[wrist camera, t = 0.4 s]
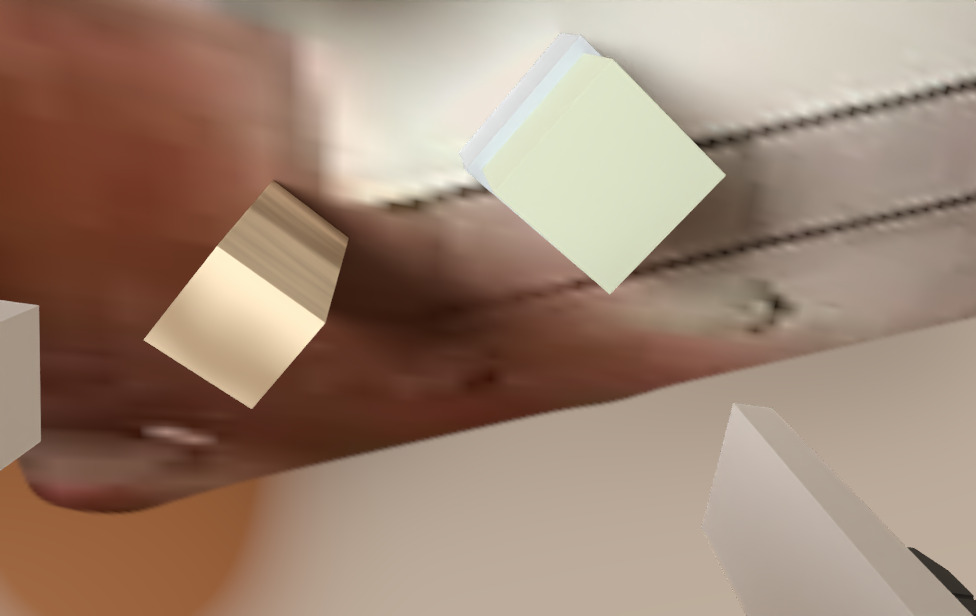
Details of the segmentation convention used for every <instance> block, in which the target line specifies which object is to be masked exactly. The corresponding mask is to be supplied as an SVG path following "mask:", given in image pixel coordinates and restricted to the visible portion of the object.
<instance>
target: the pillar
mask: <svg viewBox="0 0 976 616" xmlns="http://www.w3.org/2000/svg"><path fill="white" fill-rule="evenodd" d="M348 240H349V238H348V237H347V236H345V235H344V234H343V233H342V232H340V231H339V230H338V229H336V228H335V227H334V226H332V225H331V224H330V223H329V222H327V221H326V220H325V219H323V218H322V217H321V216H319V215H318V214H317V213H315V212H314V211H313V210H312V209H310V208H309V207H308V206H306V205H305V204H304V203H302V202H301V201H300V200H299V199H297V198H296V197H295V196H293V195H292V194H291V193H289V192H288V191H287V190H285V189H284V188H283V187H282V186H280V185H279V184H278V183H276V182H275V181H274V180H273V181H272V182H271V183H270V184H269V185H268V186H267V188H266V189H265V190H264V191H263V192H262V194H261V195H260V196H259V197H258V198H257V199H256V201H255V202H254V203H253V204H252V205H251V207H250V208H249V209H248V210H247V211H246V212H245V214H244V215H243V216H242V217H241V218H240V220H239V221H238V222H237V223H236V224H235V225H234V227H233V228H232V229H231V230H230V231H229V233H228V234H227V235H226V236H225V237H224V238H223V240H222V241H221V242H220V243H219V244H218V246H217V247H216V248H215V249H214V251H213V252H212V253H211V254H210V256H209V257H208V258H207V260H206V261H205V262H204V263H203V265H202V266H201V267H200V268H199V270H198V271H197V272H196V274H195V275H194V276H193V277H192V279H191V280H190V281H189V283H188V284H187V285H186V286H185V288H184V289H183V290H182V291H181V293H180V294H179V295H178V297H177V298H176V299H175V300H174V302H173V303H172V304H171V306H170V307H169V308H168V309H167V311H166V312H165V313H164V314H163V316H162V317H161V318H160V320H159V321H158V322H157V323H156V325H155V326H154V327H153V329H152V330H151V331H150V332H149V334H148V335H147V336H146V337H145V339H144V341H146V342H148V343H149V344H151V345H152V346H154V347H155V348H157V349H159V350H160V351H162V352H163V353H165V354H166V355H168V356H170V357H171V358H173V359H174V360H176V361H177V362H179V363H180V364H182V365H184V366H185V367H187V368H188V369H190V370H191V371H193V372H195V373H196V374H198V375H199V376H201V377H202V378H204V379H205V380H207V381H209V382H210V383H212V384H213V385H215V386H216V387H218V388H220V389H221V390H223V391H224V392H226V393H227V394H229V395H230V396H232V397H234V398H235V399H237V400H238V401H240V402H241V403H243V404H245V405H246V406H248V407H249V408H251V409H252V408H253V407H254V406H255V405H256V403H257V402H258V401H259V400H260V399H261V398H262V396H263V395H264V394H265V393H266V392H267V391H268V389H269V388H270V387H271V386H272V385H273V384H274V382H275V381H276V380H277V379H278V378H279V376H280V375H281V374H282V373H283V372H284V371H285V369H286V368H287V367H288V366H289V365H290V364H291V362H292V361H293V360H294V359H295V358H296V357H297V355H298V354H299V353H300V352H301V351H302V350H303V348H304V347H305V346H306V345H307V344H308V343H309V341H310V340H311V339H312V338H313V337H314V336H315V334H316V333H317V332H318V331H319V330H320V329H321V327H322V326H323V325H324V324H325V322H326V319H327V315H328V311H329V308H330V304H331V301H332V297H333V293H334V290H335V286H336V283H337V279H338V275H339V272H340V268H341V265H342V261H343V257H344V254H345V250H346V247H347V243H348Z"/></svg>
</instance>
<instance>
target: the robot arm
mask: <svg viewBox="0 0 976 616" xmlns="http://www.w3.org/2000/svg"><path fill="white" fill-rule="evenodd" d="M40 441H41V417H40V350H39V306H38V305H31V304H24V303H17V302H10V301H3V300H0V470H2V469H3V468H5V467H6V466H7V465H9V464H10V463H12V462H13V461H14V460H16V459H17V458H18V457H20V456H21V455H23V454H24V453H25V452H27V451H28V450H29V449H31V448H32V447H34V446H35V445H36V444H38V443H39V442H40ZM701 529H702V531H703V533H704V535H705V537H706V539H707V541H708V543H709V545H710V547H711V549H712V551H713V553H714V555H715V556H716V559H717V560H718V562H719V564H720V566H721V568H722V570H723V572H724V574H725V576H726V578H727V580H728V582H729V584H730V586H731V588H732V590H733V592H734V594H735V596H736V598H737V599H738V601H739V603H740V605H741V607H742V609H743V611H744V613H745V615H746V616H976V600H974V599H973V595H972V594H971V593H970V592H969V591H968V590H967V589H966V588H965V587H964V586H963V585H962V584H961V583H960V582H959V581H958V580H957V579H956V578H955V577H954V576H953V575H952V574H951V573H950V572H949V571H948V570H946V569H945V568H943V567H942V566H940V565H939V564H937V563H936V562H934V561H933V560H931V559H930V558H928V557H927V556H925V555H924V554H922V553H921V552H919V551H918V550H916V549H914V548H910V547H906V546H905V545H904V544H903V543H902V542H901V541H900V540H899V538H898V537H897V536H896V535H895V534H894V533H893V532H892V531H891V530H890V529H888V527H887V526H886V525H885V524H884V523H883V522H882V521H881V520H880V519H879V518H878V517H877V516H876V515H875V514H874V513H873V512H872V511H871V510H870V508H869V507H868V506H866V505H865V503H864V502H863V501H862V500H861V499H860V498H859V497H858V496H857V495H856V494H855V493H854V492H853V491H852V490H851V489H850V488H849V487H848V486H847V485H846V484H845V483H844V482H843V481H842V480H841V478H840V477H839V476H837V474H836V473H835V472H834V471H833V470H832V469H831V468H830V467H829V466H828V465H827V464H826V463H825V462H824V461H823V460H822V459H821V458H820V457H819V456H818V455H817V454H816V453H815V452H814V451H813V450H812V449H811V448H810V446H809V445H808V444H807V443H806V442H805V441H804V440H803V439H802V438H801V437H800V436H799V435H798V434H797V433H796V432H795V431H794V430H793V429H792V428H791V427H790V426H789V425H788V424H787V423H786V422H785V421H784V420H783V419H782V417H781V416H780V415H779V414H777V412H776V411H775V410H774V409H773V408H770V407H762V406H755V405H748V404H741V403H733V405H732V409H731V413H730V417H729V421H728V425H727V429H726V433H725V437H724V441H723V445H722V449H721V453H720V457H719V461H718V465H717V469H716V473H715V477H714V480H713V484H712V488H711V492H710V496H709V500H708V504H707V508H706V512H705V516H704V520H703V524H702V528H701Z"/></svg>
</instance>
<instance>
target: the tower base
mask: <svg viewBox="0 0 976 616" xmlns="http://www.w3.org/2000/svg"><path fill="white" fill-rule="evenodd" d="M584 53H586V54H591V55H596V56H601V55H600V54H599V53H598V52H597V51H596V50H595V49H594V48H593V47H592V46H591V45H590V44H589V43H588V42H587V41H586V40H585V39H584V38H583V37H582V36H581V35H574V34H564V33H560V34H559V35H558V36H557V38H556V39H555V40H554V41H553V42H552V43H551V45H550V46H549V47H548V48H547V49H546V51H545V52H544V53H543V54H542V55H541V56H540V58H539V59H538V60H537V61H536V62H535V64H534V65H533V66H532V67H531V68H530V69H529V71H528V72H527V73H526V74H525V75H524V76H523V78H522V79H521V80H520V81H519V82H518V84H517V85H516V86H515V87H514V88H513V89H512V91H511V92H510V93H509V94H508V95H507V96H506V98H505V99H504V100H503V101H502V102H501V104H500V105H499V106H498V107H497V108H496V109H495V111H494V112H493V113H492V114H491V115H490V116H489V118H488V119H487V120H486V121H485V122H484V124H483V125H482V126H481V127H480V128H479V129H478V131H477V132H476V133H475V134H474V135H473V136H472V138H471V139H470V140H469V141H468V142H467V144H466V145H465V146H464V147H463V148H462V149H461V151H460V152H459V154H460V157H461V160H462V162H463V165H464V168H465V170H466V171H467V172H468V173H469V174H470V175H472V176H473V177H474V178H475V179H476V180H477V181H479V182H480V183H481V184H482V185H483V186H484V187H486V188H487V189H488V190H489V191H490V192H491V193H493V191H492V189H491V187H490V185H489V183H488V181H487V179H486V177H485V175H484V172H483V170H482V169H483V168H484V166H485V165H486V164H487V163H488V162H489V161H490V160H491V158H492V157H493V156H494V155H495V154H496V153H497V152H498V150H499V149H500V148H501V147H502V146H503V145H504V144H505V143H506V141H507V140H508V139H509V138H510V137H511V136H512V135H513V133H514V132H515V131H516V130H517V129H518V128H519V127H520V125H521V124H522V123H523V122H524V121H525V120H526V119H527V117H528V116H529V115H530V114H531V113H532V112H533V111H534V109H535V108H536V107H537V106H538V105H539V104H540V103H541V101H542V100H543V99H544V98H545V97H546V96H547V95H548V93H549V92H550V91H551V90H552V89H553V88H554V87H555V86H556V84H557V83H558V82H559V81H560V80H561V79H562V78H563V76H564V75H565V74H566V73H567V72H568V71H569V70H570V68H571V67H572V66H573V65H574V64H575V63H576V62H577V60H578V59H579V58H580V57H581V56H582V55H583V54H584ZM601 57H602V56H601ZM493 194H494V193H493ZM494 195H495V194H494ZM495 196H496V195H495ZM496 197H497V198H498V199H500V198H499V197H498V196H496ZM500 200H501V199H500ZM501 201H502V200H501ZM502 202H503V201H502ZM503 203H504V202H503ZM504 204H505V205H507V204H506V203H504ZM507 206H508V205H507ZM508 207H509V206H508ZM509 208H510V207H509ZM510 209H511V208H510ZM511 210H512V209H511ZM512 211H514V210H512ZM514 212H515V211H514ZM515 213H516V212H515ZM516 214H517V213H516ZM517 215H518V214H517ZM518 216H519V215H518ZM519 217H520V216H519ZM521 218H522V217H521ZM522 219H523V218H522ZM523 220H524V219H523ZM524 221H525V220H524ZM525 222H526V221H525ZM526 223H527V222H526ZM529 225H530V224H529ZM530 226H531V225H530ZM531 227H532V226H531ZM532 228H533V227H532ZM533 229H534V228H533ZM536 231H537V230H536ZM537 232H538V231H537ZM538 233H539V232H538ZM539 234H540V233H539ZM540 235H541V234H540ZM544 238H545V237H544ZM545 239H546V238H545ZM546 240H547V239H546ZM547 241H548V240H547ZM548 242H549V241H548ZM552 245H553V244H552ZM553 246H554V245H553ZM554 247H555V246H554ZM555 248H556V247H555ZM560 252H561V251H560ZM561 253H562V252H561ZM562 254H563V253H562ZM568 259H569V258H568ZM569 260H570V259H569ZM576 266H577V265H576ZM583 272H584V271H583Z"/></svg>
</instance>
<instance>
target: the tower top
mask: <svg viewBox="0 0 976 616" xmlns="http://www.w3.org/2000/svg"><path fill="white" fill-rule="evenodd" d="M482 170H483V172H484V175H485V177H486V179H487V181H488V183H489V185H490V187H491V189H492V191H493V193H494V194H495V195H496V196H498V197H499V198H500V199H501V200H502V201H503V202H504V203H506V204H507V205H508V206H509V207H510V208H511V209H512V210H514V211H515V212H516V213H517V214H518V215H519V216H520V217H522V218H523V219H524V220H525V221H526V222H527V223H528V224H530V225H531V226H532V227H533V228H534V229H535V230H537V231H538V232H539V233H540V234H541V235H542V236H543V237H545V238H546V239H547V240H548V241H549V242H550V243H551V244H553V245H554V246H555V247H556V248H557V249H558V250H559V251H561V252H562V253H563V254H564V255H565V256H566V257H567V258H569V259H570V260H571V261H572V262H573V263H574V264H575V265H577V266H578V267H579V268H580V269H581V270H582V271H584V272H585V273H586V274H587V275H588V276H589V277H590V278H592V279H593V280H594V281H595V282H596V283H597V284H598V285H600V286H601V287H602V288H603V289H604V290H605V291H606V292H608V293H609V294H611V293H612V292H613V291H614V290H615V289H616V288H617V287H618V285H619V284H620V283H621V282H622V281H623V280H624V279H625V278H626V277H627V276H628V275H629V274H630V273H631V272H632V271H633V270H634V269H635V268H636V267H637V266H638V265H639V264H640V263H641V262H642V261H643V260H644V259H645V258H646V257H647V256H648V255H649V254H650V253H651V252H652V251H653V250H654V249H655V248H656V247H657V246H658V245H659V243H660V242H661V241H662V240H663V239H664V238H665V237H666V236H667V235H668V234H669V233H670V232H671V231H672V230H673V229H674V228H675V227H676V226H677V225H678V224H679V223H680V222H681V221H682V220H683V219H684V218H685V217H686V216H687V215H688V214H689V213H690V212H691V211H692V210H693V209H694V208H695V207H696V206H697V205H698V204H699V202H700V201H701V200H702V199H703V198H704V197H705V196H706V195H707V194H708V193H709V192H710V191H711V190H712V189H713V188H714V187H715V186H716V185H717V184H718V183H719V182H720V181H721V180H722V179H723V178H724V177H725V176H726V175H725V174H724V173H723V172H722V171H721V170H720V169H719V168H718V166H717V165H716V164H715V163H714V162H713V161H712V160H711V159H710V158H709V157H708V156H707V155H706V154H705V153H704V152H703V151H702V150H701V149H700V148H699V147H698V146H697V145H696V144H695V143H694V142H693V141H692V140H691V139H690V138H689V137H688V136H687V135H686V134H685V133H684V132H683V131H682V130H681V128H680V127H679V126H678V125H677V124H676V123H675V122H674V121H673V120H672V119H671V118H670V117H669V116H668V115H667V114H666V113H665V112H664V111H663V110H662V109H661V108H660V107H659V106H658V105H657V104H656V103H655V102H654V101H653V100H652V99H651V98H650V97H649V96H648V95H647V94H646V93H645V92H644V90H643V89H642V88H641V87H640V86H639V85H638V84H637V83H636V82H635V81H634V80H633V79H632V78H631V77H630V76H629V75H628V74H627V73H626V72H625V71H624V70H623V69H622V68H621V67H620V66H619V65H618V64H617V63H616V62H615V61H614V60H613V59H611V58H606V57H601V56H596V55H591V54H586V53H584V54H583V55H582V56H581V57H580V58H579V59H578V60H577V62H576V63H575V64H574V65H573V66H572V67H571V68H570V70H569V71H568V72H567V73H566V74H565V75H564V76H563V78H562V79H561V80H560V81H559V82H558V83H557V84H556V86H555V87H554V88H553V89H552V90H551V91H550V92H549V93H548V95H547V96H546V97H545V98H544V99H543V100H542V101H541V103H540V104H539V105H538V106H537V107H536V108H535V109H534V111H533V112H532V113H531V114H530V115H529V116H528V117H527V119H526V120H525V121H524V122H523V123H522V124H521V125H520V127H519V128H518V129H517V130H516V131H515V132H514V133H513V135H512V136H511V137H510V138H509V139H508V140H507V141H506V143H505V144H504V145H503V146H502V147H501V148H500V149H499V150H498V152H497V153H496V154H495V155H494V156H493V157H492V158H491V160H490V161H489V162H488V163H487V164H486V165H485V166H484V168H483V169H482Z"/></svg>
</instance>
